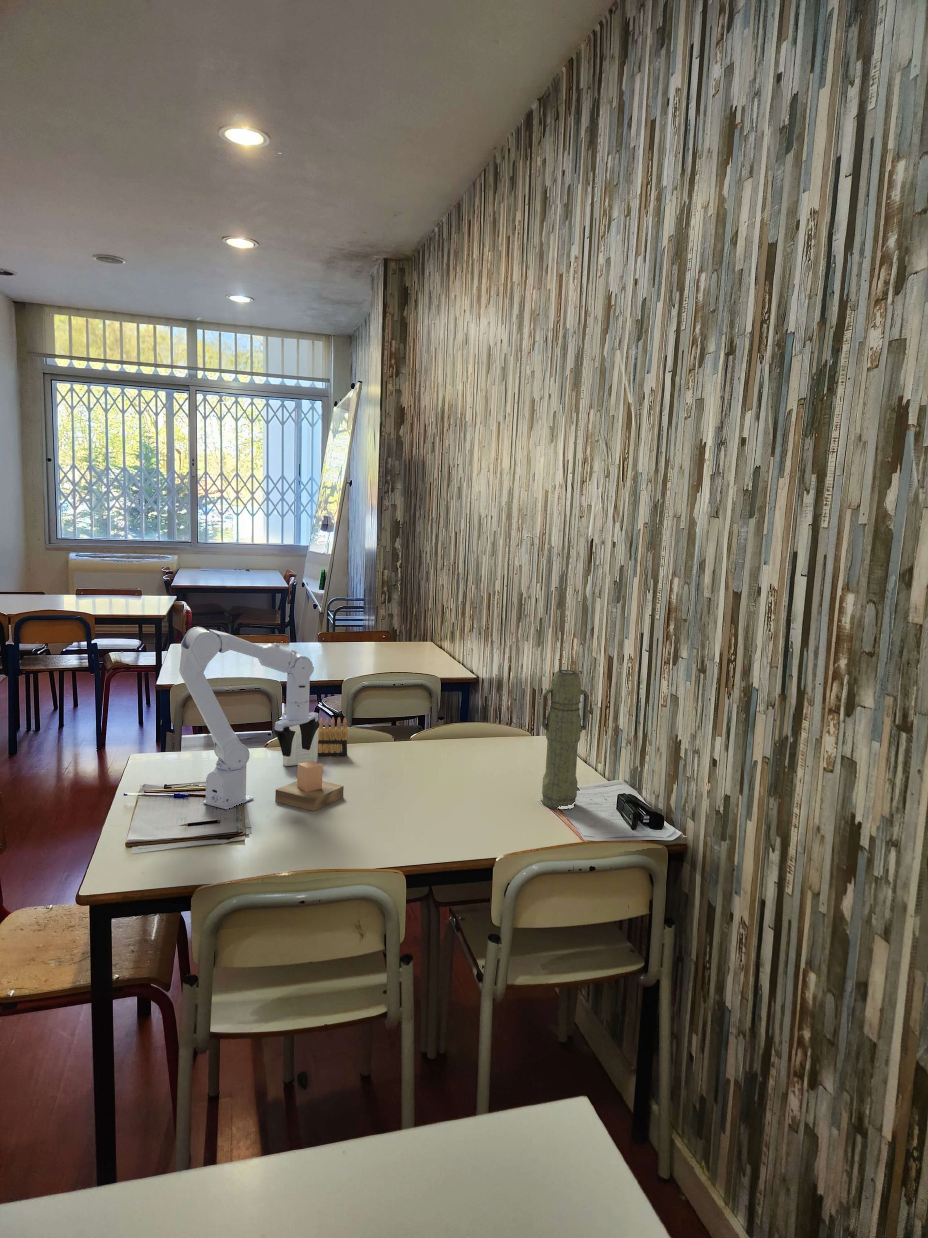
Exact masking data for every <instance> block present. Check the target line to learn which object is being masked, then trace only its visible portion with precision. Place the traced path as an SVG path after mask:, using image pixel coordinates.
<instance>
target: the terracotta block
mask: <svg viewBox="0 0 928 1238" xmlns="http://www.w3.org/2000/svg"><path fill="white" fill-rule="evenodd" d="M323 767H324V765H323V764H321V763H319V762H318V761H317V762H315V761H309V762H304V763H298V765H297V769H296V770H297V774H296V775H297V777H296V778H297V779H296V781H297V787H299V788H300V789H302V790H304V791H306V792H307V791H312V790H316V789H321V788H322V781H323Z"/></svg>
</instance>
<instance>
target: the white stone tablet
mask: <svg viewBox="0 0 928 1238" xmlns="http://www.w3.org/2000/svg"><path fill="white" fill-rule="evenodd" d="M289 729H291V731H295V735H294V737H293V741H292V749H291V755H290V756H289V757H287V756H283V755H282V765H283V766H285V767H289V766H291V767H292V766H298V763H304V762H309V761H315V762H317V763H318V758H319V757H318V731H319V728H318V729H317V731H316V733H315V735H314V737H313V740H312V744H311V747H310V750H305V749H302V742H301V730H300V726H299V725H296V726H293V727H290V728H289Z"/></svg>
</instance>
